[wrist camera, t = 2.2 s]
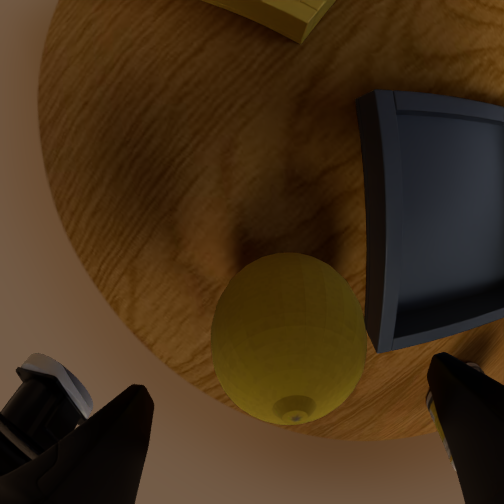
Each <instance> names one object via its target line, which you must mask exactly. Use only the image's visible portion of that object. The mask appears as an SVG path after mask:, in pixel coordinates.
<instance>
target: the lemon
mask: <svg viewBox="0 0 504 504" xmlns="http://www.w3.org/2000/svg"><path fill="white" fill-rule="evenodd" d="M211 347H212V358H213V364H214V369H215V372H216V374H217V377H218V379H219V381H220V383H221V386H222V388H223V390H224V391H225V392H226V394H227V395H228V396H229V397H230V399H231V400H232V401H233V402H234V403H235V404H236V405H237V406H238V407H239V408H241V409H242V410H244V411H245V412H247V413H248V414H250V415H252V416H254V417H256V418H258V419H261V420H263V421H266V422H270V423H275V424H282V425H295V424H302V423H306V422H310V421H313V420H316V419H318V418H320V417H323V416H325V415H327V414H328V413H330V412H331V411H333V410H334V409H335V408H337V407H338V406H339V405H341V404H342V402H343V401H344V400H345V399H346V398H347V397H348V396H349V395H350V394H351V393H352V391H353V390H354V388H355V386H356V384H357V383H358V381H359V379H360V377H361V375H362V372H363V368H364V363H365V358H366V352H367V335H366V329H365V323H364V318H363V313H362V309H361V306H360V304H359V302H358V300H357V298H356V296H355V294H354V293H353V291H352V289H351V287H350V286H349V284H348V282H347V281H346V280H345V279H344V278H343V277H342V276H341V275H340V274H339V273H338V272H337V271H335V270H334V269H333V268H332V267H331V266H330V265H328V264H326V263H324V262H322V261H320V260H318V259H317V258H315V257H313V256H309V255H305V254H300V253H296V252H293V253H276V254H272V255H268V256H264V257H261V258H259V259H257V260H255V261H254V262H252V263H250V264H248V265H246V266H245V267H244V268H243V269H242V270H241V271H240V272H239V273H238V274H236V275H235V276H234V277H233V278H232V279H231V281H230V282H229V284H228V285H227V287H226V289H225V290H224V292H223V293H222V295H221V297H220V299H219V301H218V303H217V306H216V310H215V314H214V318H213V322H212V327H211Z"/></svg>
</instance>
